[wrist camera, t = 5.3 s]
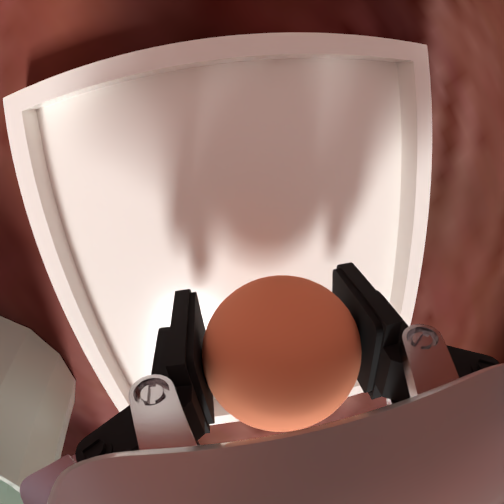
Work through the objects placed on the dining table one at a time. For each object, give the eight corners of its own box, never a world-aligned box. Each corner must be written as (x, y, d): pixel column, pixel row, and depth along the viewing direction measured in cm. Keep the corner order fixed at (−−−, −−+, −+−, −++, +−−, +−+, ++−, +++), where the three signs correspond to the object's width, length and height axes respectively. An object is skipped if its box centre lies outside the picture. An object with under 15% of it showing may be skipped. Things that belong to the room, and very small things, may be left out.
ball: (331, 239, 11) (403, 321, 7) (330, 346, 13) (373, 436, 9) (188, 261, 11) (180, 365, 6) (214, 367, 13) (222, 469, 8)
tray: (402, 48, 11) (426, 44, 9) (383, 362, 19) (395, 381, 17) (25, 96, 9) (2, 98, 8) (135, 408, 17) (132, 431, 16)
